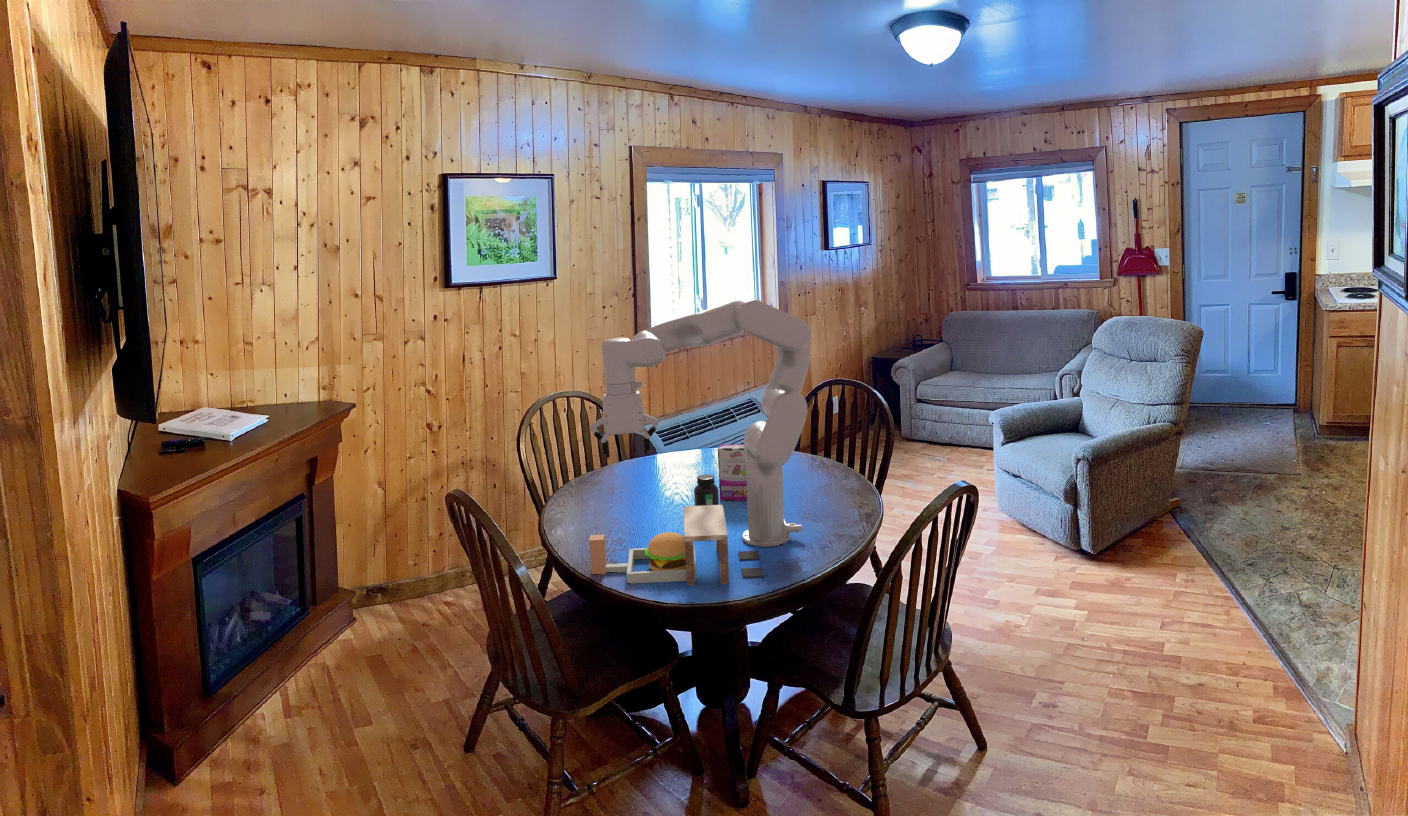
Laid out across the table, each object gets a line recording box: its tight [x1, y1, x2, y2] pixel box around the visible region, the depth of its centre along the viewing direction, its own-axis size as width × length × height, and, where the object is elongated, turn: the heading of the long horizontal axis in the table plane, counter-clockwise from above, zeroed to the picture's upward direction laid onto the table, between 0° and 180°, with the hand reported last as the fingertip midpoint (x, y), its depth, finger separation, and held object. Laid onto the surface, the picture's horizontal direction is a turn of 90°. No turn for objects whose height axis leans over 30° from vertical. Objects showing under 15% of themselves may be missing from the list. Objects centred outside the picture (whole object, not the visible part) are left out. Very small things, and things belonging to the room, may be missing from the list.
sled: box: [588, 534, 697, 584], centre depth 230 cm, size 26×16×9 cm, turn 92°
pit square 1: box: [738, 550, 761, 561], centre depth 237 cm, size 5×5×1 cm
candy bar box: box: [717, 444, 747, 502], centre depth 280 cm, size 11×5×16 cm, turn 81°
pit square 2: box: [741, 566, 765, 579], centre depth 227 cm, size 5×5×1 cm
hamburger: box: [645, 531, 686, 571], centre depth 231 cm, size 12×12×9 cm
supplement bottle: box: [693, 474, 720, 506], centre depth 265 cm, size 7×7×12 cm
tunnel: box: [683, 504, 730, 586], centre depth 230 cm, size 10×22×12 cm, turn 2°
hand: (627, 454), depth 236 cm, fingers open, 9 cm apart
